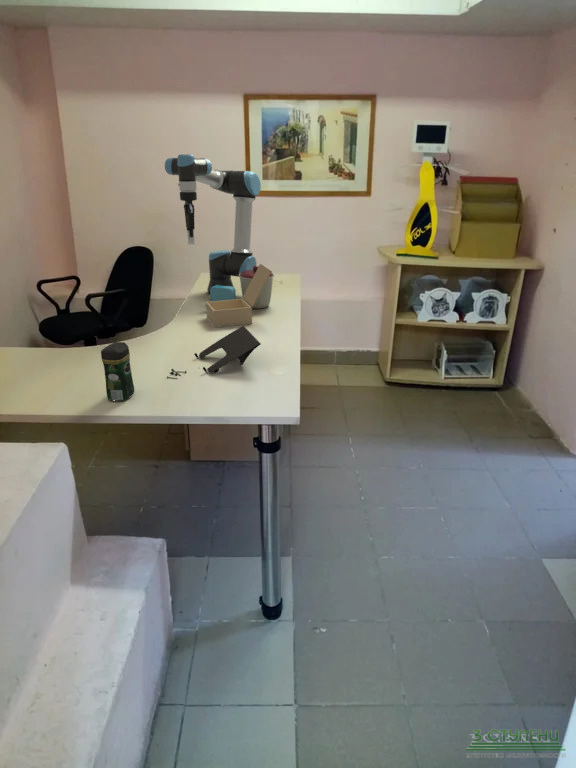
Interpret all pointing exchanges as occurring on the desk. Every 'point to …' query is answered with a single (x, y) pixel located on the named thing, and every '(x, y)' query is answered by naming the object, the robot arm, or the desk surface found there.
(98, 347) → the desk surface
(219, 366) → the portable electronic device stand
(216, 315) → the box
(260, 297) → the canister
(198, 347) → the desk surface
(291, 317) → the desk surface
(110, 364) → the coffee jar
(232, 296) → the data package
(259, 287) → the mailer lid
